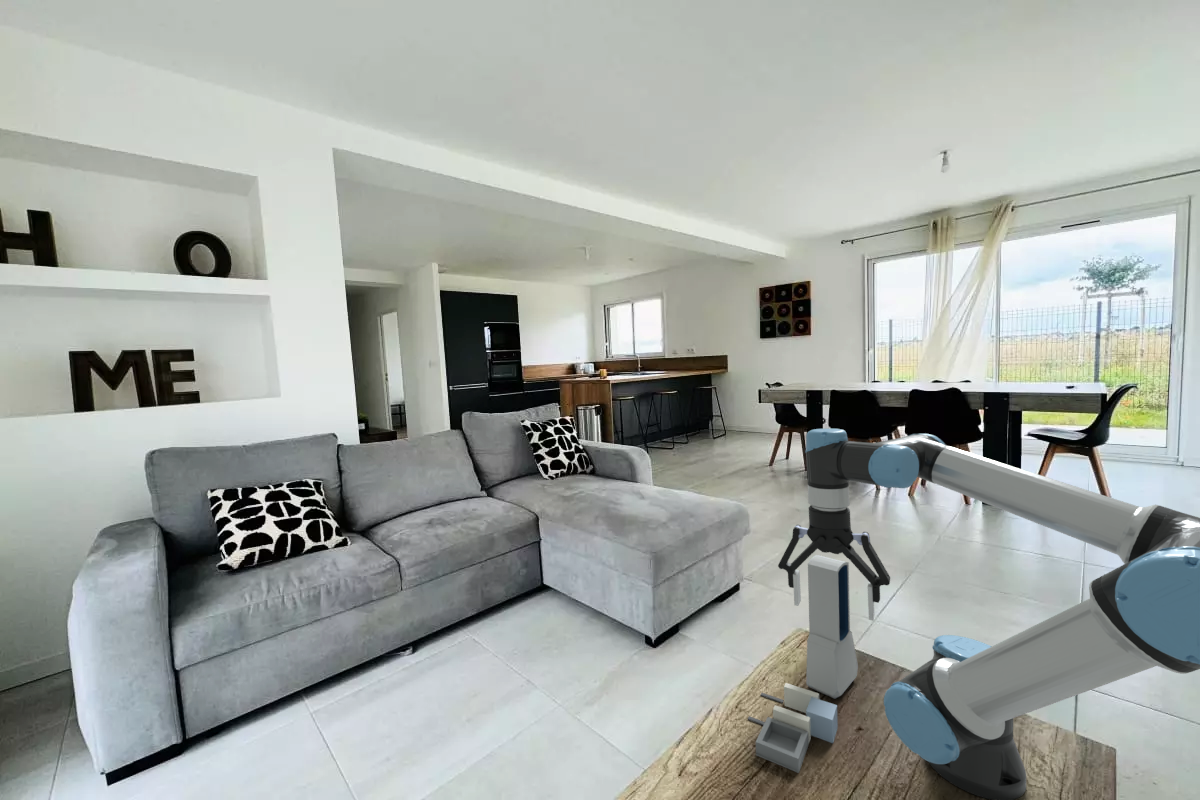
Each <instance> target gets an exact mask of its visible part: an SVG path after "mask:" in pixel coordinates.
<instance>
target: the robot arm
mask: <svg viewBox="0 0 1200 800" xmlns="http://www.w3.org/2000/svg"><path fill="white" fill-rule="evenodd" d="M805 438H806V439H805V450H804V451H805V452H804V453H805V458H806V470H807V471H806V472H807V503H808V504H809V505H810V506H809V507H808V524H809V525H808V528H807V527H802V525H801V524H796V525H794V527H793V530H792V536H791V537H792V538H791V540H790V542H789V543H788V546H787V547H786V549H785V551H784V553H783V555H782V556H781V559H780V561H779V563H778V565H777V567H778V568H779V569H780V570H785V571H786V572H787V579H788V580H787V583H788V584H787V585H788V587H789V588H792V589H793V601H794V602H793V603H794V606H799V605H800V603H801V602H802V596H801V574H800V570H799V569H798V568H799V567H800V566H801V565H802V564H803V563H804V562H805V561H806V560H807V559H809V557H811V555H812V554H814V553H815V552H816V551H817V550H818V551H821V553H827V554H828V553H832V554H835V555H840V554H843V555H844V556H845V557H846V558H847V559H848V560H849V561H850V562H851V563H852V564H853V566H854V567H855V568H856V569H857V570H858V571H859V572H860V574H862V575H863V576H864V578H865V579H866V580H867V582H868V583H867V607H868V620H870V621H874V617H875V603H880V601H881V587H882V586H890V583H891V576H890V574H889V572H888V571H887V569H886V567H885V566H884V564H883V563H882V560H881V559H880V557H879V556H878V554H877V552H876V550H875V548H874V547H873V545H872V543H871V537H870V533H869V532H867V531H863V532H861V533H859V532H858V533H853V531H852V528H851V527H852V524H851V509H850V508H849V506H850V503H851V500H850V499H851V498H850V482H856V483H863V484H867V485H874V486H879V487H884V488H886V489H888V488H889V489H890V488H891V489H892V488H897V489H907V488H910V487H911V486H913V484H914V482H916V480H918V479H917V478H919V479H922V480H925V481H927V482H929V483H932V484H934V485H935V484H936V485H938V486H941V487H944V488H946V489H949V490H951V491H953V492H956V493H959V494H961V495H964V496H966V497H969V498H971V499H974V500H976V501H979V502H981V503H984V504H985V505H989V506H992V507H995V508H996V509H998V510H999V509H1000V510H1003V511H1004V512H1006V513H1009V514H1013V515H1015V516H1017V517H1019V518H1023V519H1025V520H1028V521H1030V522H1032V523H1034V524H1035V523H1036V524H1038V525H1040V526H1043V527H1046V528H1047V529H1051V530H1053V531H1055V532H1058V533H1061V534H1063V535H1066V536H1069V537H1071V538H1073V539H1077V540H1079V541H1081V542H1083V543H1087V544H1089V545H1092V546H1094V547H1096V548H1099V549H1101V550H1104V551H1107V552H1109V553H1112V554H1115V555H1117V556H1118V557H1119V558H1120V560H1121V561H1122V563H1123V564H1122V565H1120V566H1118V567H1116V568H1115V569H1113V570H1110V571H1109V572H1107V573H1104V574H1103V575H1100V576H1099V577H1097V578H1095V579H1094V580H1092V581H1090V583H1089V586H1088V590H1089V598H1088V599H1086V600H1084V601H1082V602H1079V603H1078V604H1075V605H1074V606H1071V607H1070V608H1068V609H1065V610H1064V611H1061V612H1059V613H1057V614H1055V615H1053V616H1051V617H1049V618H1047V619H1045V620H1043V621H1041V622H1039V623H1037V624H1035V625H1033V626H1030V627H1029V628H1027V629H1025V630H1022V631H1021V632H1018V633H1017V634H1014V635H1012V636H1011V637H1009V638H1006V639H1005V640H1002V641H1000V642H998V643H996V644H994V645H990V644H987V643H985V642H982V641H980V640H975V639H973V638H969V637H966V636H960V635H952V634H951V635H950V634H945V635H944V634H943V635H939V636H937V637H935V639H934V640H933V645H932V650H933V657H932V659H930V660H929V661H927V662H925V663H924V664H922V665H921V666H920V667H918V668H917V669H915V670H914V671H912V672H910V673H909V674H908V675H906V676H904V677H903V678H901V679H900V680H899V681H895V682H893V683H892V684H891V685H890V686H889V688H888V689H887V690H886V691H885V693H884V695H883V706H884V713H885V716H886V718H887V721H888V723H889V725H890V727H891V728H892V731H894V733H895V735H896V736H897V738H899V739H900V741H901V742H902V743H903V744H904V745H905V746H906V747H907V748H908V750H911V752H912V753H914V754H917V755H919V757H920V758H921V759H923V760H924V761H927V762H928V763H929V766H931V767H932V768H933V770H934V771H935V772H936V773H937V774H939V776H941V777H942V778H943V779H944V780H945V781H947V782H949V783H950V784H952V785H953V786H955V787H957V788H959V789H961V790H963V791H965V792H967V793H970V794H972V795H974V796H976V797H980V798H982V799H983V798H984V799H987V800H1017V799H1019V798H1020V797H1022V796H1023V795H1024V794H1025V792H1026V790H1027V772H1026V769H1025V768H1026V767H1025V766H1024V762H1023V760H1022V757H1021V756H1020V752H1019V750H1018V747H1017V745H1016V742H1015V740H1014V718H1017V717H1020V716H1023V715H1026V714H1028V713H1031V712H1034V711H1037V710H1039V709H1042V708H1045V707H1047V706H1051V705H1053V704H1056V703H1060V702H1061V701H1064V700H1067V699H1070V698H1073V697H1075V696H1077V695H1080V694H1083V693H1086V692H1089V691H1092V690H1095V689H1097V688H1100V687H1102V686H1106V685H1108V684H1111V683H1114V682H1117V681H1119V680H1121V679H1124V678H1128V677H1130V676H1133V675H1135V674H1138V673H1141V672H1144V671H1147V670H1149V669H1152V668H1154V667H1155V668H1156V667H1159V668H1162V669H1165V670H1167V671H1171V672H1174V673H1176V674H1183V675H1184V674H1189V673H1192V672H1195V671H1198V670H1200V517H1198V516H1194V515H1191V514H1188V513H1185V512H1182V511H1178V510H1175V509H1173V508H1169V507H1166V506H1162V505H1158V504H1153V505H1148V506H1144V507H1143V506H1139V505H1138V506H1137V505H1135V504H1131V503H1129V502H1125V501H1122V500H1119V499H1117V498H1114V497H1110V496H1107V495H1103V494H1101V493H1097V492H1095V491H1090V490H1087V489H1084V488H1082V487H1078V486H1076V485H1072V484H1069V483H1066V482H1063V481H1060V480H1057V479H1053V478H1050V477H1047V476H1044V475H1042V474H1037V473H1035V472H1032V471H1028V470H1025V469H1022V468H1019V467H1015V466H1013V465H1010V464H1006V463H1003V462H1000V461H997V460H994V459H991V458H987V457H984V456H982V455H978V454H975V453H972V452H969V451H966V450H962V449H959V448H957V447H954V446H950V445H947V444H946V443H945V442H944V441H943V440H942V439H941V438H939V437H938V436H936V435H934V434H929V433H912V434H908V435H907V436H906V435H905V436H903V437H897V438H894V439H888V440H884V441H883V440H881V441H878V442H862V441H851V440H849V438H848V434H847V432H846V430H844V429H840V428H830V427H829V428H816V429H815V428H814V429H811V430H809V431H808V432H807V433H806V437H805ZM849 481H850V482H849ZM805 535H807V537H808V538H809V540H810V541H811V543H810V544H809V545H808V546H807V547H805V549H804V550H803V551H802V552H801V553H800V554H799V555H798V556H797V557H796V558H795V559H794V560H793V561H792V562H791V563H790V562H789V560H790V559H791V556H792V555H793V552H794V551H795V548H796V547H797V544H798V543H799V541H800V540H801V539H803V538H804V536H805ZM853 541H856V542H857V545H859V546H862V549H863V551H864V553H865V555H866V556H867V558H868V560H869V562H870V563H871V565H872V567H873V568H874V570H873V569H871V567H870V566H869V565H868V564H867V563H866V562H865V561H864V560H863V559H862V557H861V556H860V555H859V554H858V553H857V552H856V550H855V549H854V547H853V546H852V545H851V544H852V543H853ZM875 572H876V573H875Z"/></svg>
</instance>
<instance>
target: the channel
mask: <svg viewBox="0 0 1200 800" xmlns="http://www.w3.org/2000/svg"><path fill="white" fill-rule="evenodd" d="M783 693H784V694H783V697H784V699H783V700H784V702H783V703H784V707H787V708H784V707H782V706H780V705H779V706H778V705H776V704H775V705H774V707H773V709H772V719H775V720H778V721H781V722H783V723H786V724H789V725H791V726H794V727H797V728H800V729H802V730H805V731H808V743H809V744H810V742H811V737H812V735H811V727H810V717H808V716H806V710H807V707H808V705H809V702H810V700H811V697H813V698H816V699H819V700H820V692H819V693H818V692H815V691H812V690H810V689H806V688H803V687H801V686H796V685H793V684H791V683H788V682H785V684H784V685H783ZM788 708H789V709H788ZM790 709H793V710H796V711H793V710H790ZM797 711H799V712H801V713H805V715H804V714H801V713H799V712H797Z"/></svg>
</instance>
